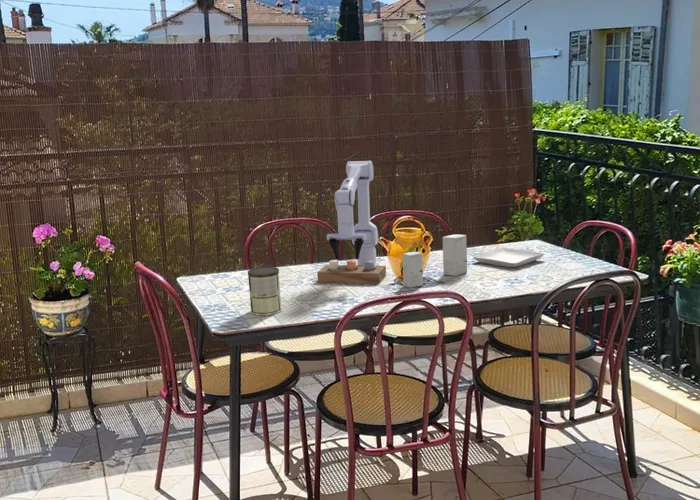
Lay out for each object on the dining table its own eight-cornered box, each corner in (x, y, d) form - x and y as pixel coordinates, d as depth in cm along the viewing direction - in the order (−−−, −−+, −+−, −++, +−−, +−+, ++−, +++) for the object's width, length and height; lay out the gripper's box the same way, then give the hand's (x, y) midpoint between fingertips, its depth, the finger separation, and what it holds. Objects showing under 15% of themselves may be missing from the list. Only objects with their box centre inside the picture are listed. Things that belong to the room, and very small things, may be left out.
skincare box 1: (410, 288, 260) (409, 255, 258) (402, 285, 264) (401, 253, 261) (423, 285, 263) (422, 252, 261) (416, 282, 267) (415, 250, 264)
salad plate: (471, 263, 294) (471, 255, 293) (502, 254, 308) (502, 246, 307) (514, 271, 278) (514, 262, 278) (545, 261, 292) (545, 252, 291)
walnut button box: (326, 274, 286) (326, 264, 285) (386, 275, 279) (385, 265, 278) (317, 282, 274) (317, 272, 273) (379, 283, 268) (378, 273, 267)
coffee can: (245, 311, 241) (241, 270, 238) (271, 305, 247) (268, 265, 244) (260, 317, 233) (257, 275, 230) (287, 311, 239) (284, 269, 236)
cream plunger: (331, 270, 280) (330, 260, 279) (340, 271, 279) (339, 260, 278) (328, 273, 277) (328, 262, 276) (337, 273, 276) (337, 262, 275)
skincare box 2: (455, 276, 273) (454, 238, 270) (442, 274, 277) (441, 236, 274) (467, 272, 279) (467, 234, 276) (455, 270, 283) (454, 233, 280)
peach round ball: (348, 271, 278) (348, 260, 277) (357, 271, 277) (357, 260, 276) (346, 273, 275) (345, 262, 274) (355, 273, 274) (354, 262, 273)
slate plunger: (366, 271, 276) (365, 260, 276) (375, 271, 276) (374, 260, 275) (363, 273, 273) (363, 262, 272) (373, 274, 272) (372, 262, 271)
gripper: (323, 224, 261) (325, 260, 264) (362, 224, 257) (363, 261, 260) (329, 221, 268) (331, 256, 271) (366, 221, 264) (368, 257, 267)
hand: (347, 258), depth 266 cm, fingers open, 7 cm apart
